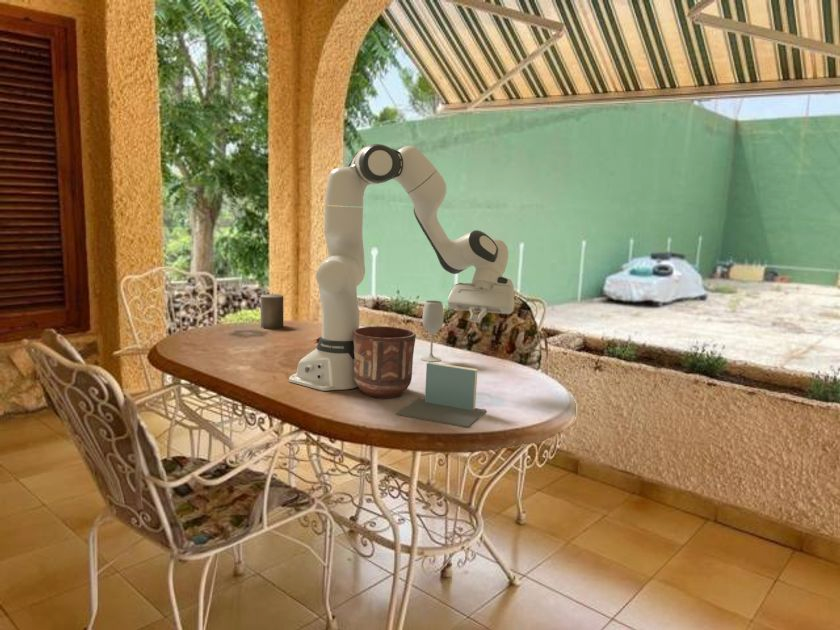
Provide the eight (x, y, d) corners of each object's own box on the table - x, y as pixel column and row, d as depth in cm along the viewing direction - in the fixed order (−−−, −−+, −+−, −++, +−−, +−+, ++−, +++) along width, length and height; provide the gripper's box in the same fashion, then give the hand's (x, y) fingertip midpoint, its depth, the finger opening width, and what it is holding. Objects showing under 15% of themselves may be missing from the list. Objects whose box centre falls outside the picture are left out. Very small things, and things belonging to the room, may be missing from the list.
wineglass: (422, 362, 219) (425, 303, 216) (418, 356, 227) (421, 299, 223) (443, 361, 221) (446, 303, 217) (438, 356, 228) (441, 300, 225)
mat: (395, 414, 163) (395, 412, 162) (418, 399, 176) (418, 398, 176) (468, 427, 155) (468, 426, 155) (486, 411, 169) (486, 409, 168)
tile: (424, 402, 173) (426, 363, 171) (427, 400, 175) (429, 362, 173) (472, 410, 167) (475, 370, 166) (475, 408, 169) (477, 369, 167)
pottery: (380, 380, 194) (382, 323, 191) (424, 392, 183) (427, 332, 180) (339, 391, 180) (340, 330, 177) (383, 405, 169) (386, 340, 166)
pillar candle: (286, 328, 268) (286, 293, 265) (264, 329, 263) (264, 294, 260) (278, 324, 276) (279, 290, 273) (257, 325, 271) (257, 291, 268)
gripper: (451, 276, 193) (439, 311, 185) (516, 280, 185) (506, 317, 177) (456, 289, 197) (444, 324, 190) (519, 293, 189) (509, 330, 182)
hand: (474, 321), depth 184 cm, fingers closed
